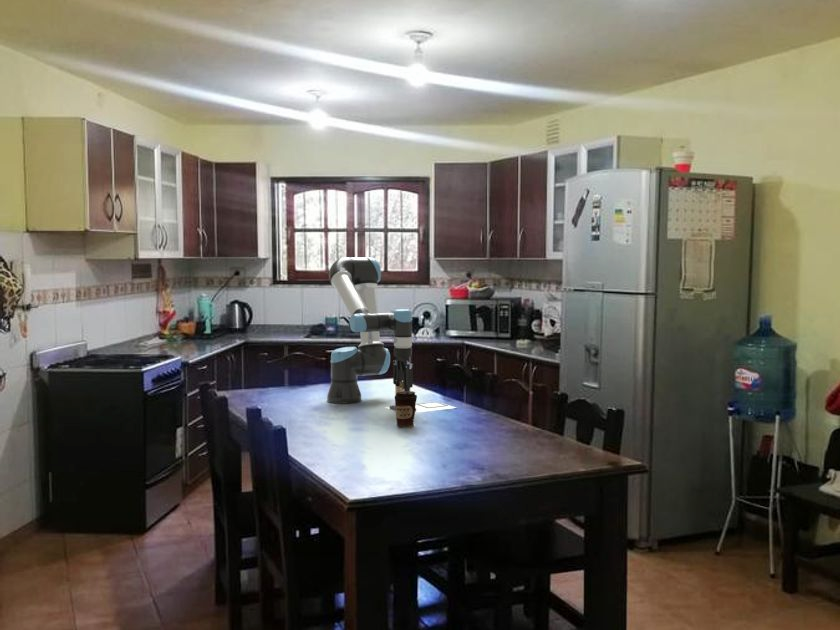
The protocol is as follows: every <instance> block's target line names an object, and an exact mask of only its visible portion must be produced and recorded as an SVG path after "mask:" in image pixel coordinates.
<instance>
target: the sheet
mask: <svg viewBox="0 0 840 630" xmlns="http://www.w3.org/2000/svg"><path fill="white" fill-rule="evenodd" d="M390 406H391V405H389V406H384V407H383V408H384V409H388V410H389V411H393V412H395V411H394V410H392V409H390ZM415 408H416V411H415V414H418V413H425V412H426V413H427V412H434V411H443V410H450V409H451V410H452V409H454V408H457V407H456V406H452V405H449V404H446V403H442V402H440V401H436V400H435V401H428V402H419V403H417V402H416V405H415Z"/></svg>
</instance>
